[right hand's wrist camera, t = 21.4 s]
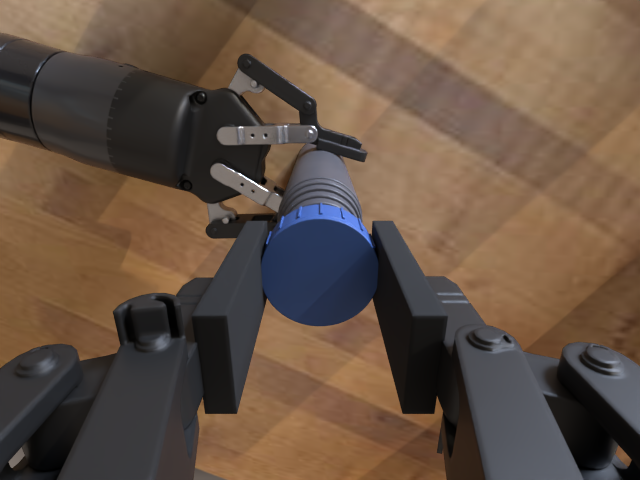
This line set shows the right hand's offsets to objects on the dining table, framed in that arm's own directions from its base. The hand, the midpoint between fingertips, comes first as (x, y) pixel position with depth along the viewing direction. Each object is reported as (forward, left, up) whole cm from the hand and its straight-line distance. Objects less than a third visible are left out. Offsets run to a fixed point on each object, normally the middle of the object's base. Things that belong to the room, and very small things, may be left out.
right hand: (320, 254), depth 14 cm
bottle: (0, 0, -22) cm, 22 cm away
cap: (0, 0, +1) cm, 1 cm away
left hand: (-1, +2, -15) cm, 15 cm away
